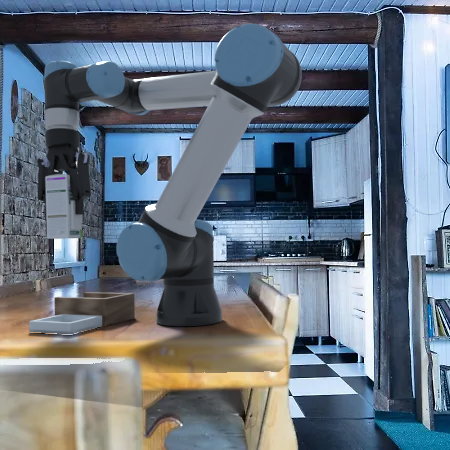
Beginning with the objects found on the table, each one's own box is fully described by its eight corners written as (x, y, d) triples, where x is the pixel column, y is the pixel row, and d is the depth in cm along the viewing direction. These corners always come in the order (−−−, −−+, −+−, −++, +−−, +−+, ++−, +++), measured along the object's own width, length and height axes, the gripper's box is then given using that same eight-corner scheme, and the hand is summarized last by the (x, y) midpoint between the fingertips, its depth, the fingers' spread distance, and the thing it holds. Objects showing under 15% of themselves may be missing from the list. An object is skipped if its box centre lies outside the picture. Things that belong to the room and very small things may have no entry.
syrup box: (69, 238, 111) (68, 173, 111) (45, 238, 112) (44, 174, 113) (82, 238, 116) (81, 176, 117) (59, 238, 118) (59, 177, 118)
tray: (102, 327, 109) (102, 315, 109) (70, 335, 99) (70, 323, 100) (63, 325, 113) (63, 313, 113) (29, 333, 103) (29, 321, 103)
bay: (134, 318, 121) (134, 293, 122) (105, 326, 110) (105, 298, 111) (86, 315, 127) (86, 292, 127) (54, 323, 116) (54, 297, 116)
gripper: (106, 128, 115) (108, 228, 114) (42, 138, 123) (44, 231, 122) (84, 121, 108) (87, 228, 107) (18, 132, 116) (20, 231, 115)
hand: (64, 229), depth 114 cm, fingers closed on syrup box, 6 cm apart
